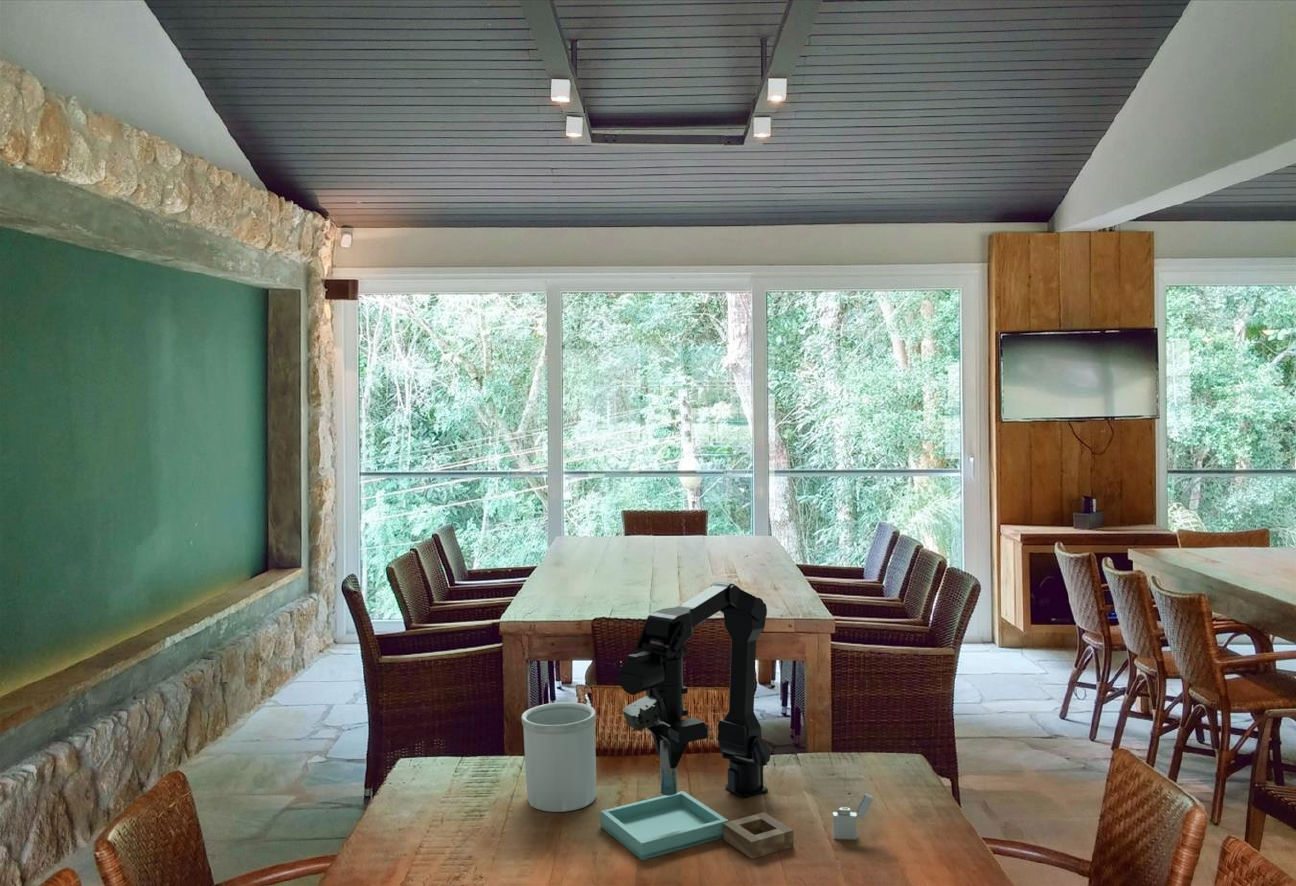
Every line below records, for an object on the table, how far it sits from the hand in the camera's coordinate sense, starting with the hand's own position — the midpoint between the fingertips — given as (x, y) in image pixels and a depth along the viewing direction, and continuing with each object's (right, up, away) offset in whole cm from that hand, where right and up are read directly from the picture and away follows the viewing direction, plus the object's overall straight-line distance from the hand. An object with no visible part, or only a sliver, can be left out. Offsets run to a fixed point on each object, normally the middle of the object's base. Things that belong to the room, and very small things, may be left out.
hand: (668, 765), depth 187 cm
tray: (-1, -13, +1) cm, 13 cm away
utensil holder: (-21, -12, +17) cm, 30 cm away
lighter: (+33, -12, -3) cm, 36 cm away
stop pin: (0, -5, 0) cm, 5 cm away
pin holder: (+16, -13, -4) cm, 21 cm away
